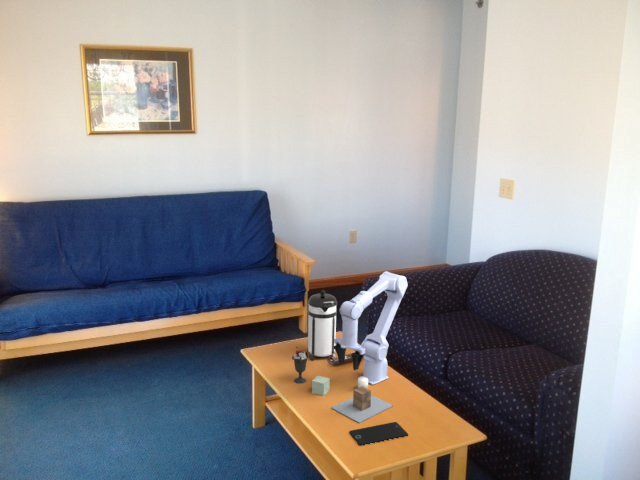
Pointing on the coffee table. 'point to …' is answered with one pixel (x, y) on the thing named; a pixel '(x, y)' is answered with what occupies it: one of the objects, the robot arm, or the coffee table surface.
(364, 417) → the slate board
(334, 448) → the coffee table surface
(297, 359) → the sundae
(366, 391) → the walnut block
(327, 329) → the coffee press
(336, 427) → the coffee table surface
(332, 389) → the coffee table surface
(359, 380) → the cream rounded cylinder
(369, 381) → the robot arm
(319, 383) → the sage block
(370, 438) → the cell phone
